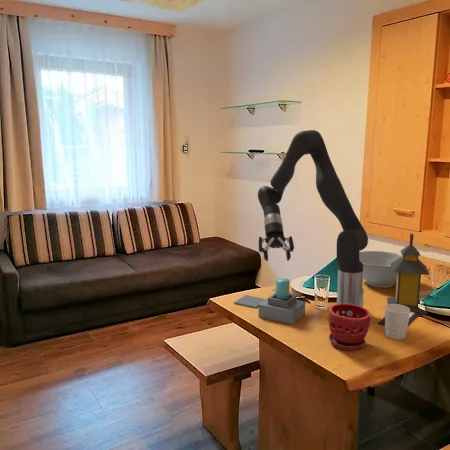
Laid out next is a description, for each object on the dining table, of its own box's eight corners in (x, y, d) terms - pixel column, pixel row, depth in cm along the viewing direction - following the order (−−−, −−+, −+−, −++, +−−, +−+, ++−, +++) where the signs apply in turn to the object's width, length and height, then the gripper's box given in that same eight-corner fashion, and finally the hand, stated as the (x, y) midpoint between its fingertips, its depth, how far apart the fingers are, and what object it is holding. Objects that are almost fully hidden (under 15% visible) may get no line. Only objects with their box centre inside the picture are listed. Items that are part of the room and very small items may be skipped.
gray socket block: (304, 313, 175) (305, 295, 174) (292, 324, 165) (292, 305, 164) (272, 306, 182) (272, 288, 181) (258, 316, 172) (258, 298, 171)
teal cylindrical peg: (291, 302, 174) (291, 279, 172) (285, 306, 169) (286, 283, 168) (278, 299, 176) (279, 277, 175) (273, 303, 172) (273, 281, 170)
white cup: (396, 342, 151) (398, 314, 149) (378, 333, 158) (380, 306, 156) (412, 337, 154) (415, 309, 152) (394, 328, 161) (396, 302, 159)
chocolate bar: (377, 322, 165) (394, 308, 179) (377, 325, 165) (394, 310, 179) (402, 329, 160) (418, 313, 173) (402, 331, 160) (418, 315, 174)
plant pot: (334, 354, 143) (335, 318, 141) (323, 336, 156) (324, 303, 153) (374, 353, 144) (377, 317, 141) (360, 335, 156) (362, 302, 154)
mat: (266, 300, 189) (266, 299, 189) (255, 308, 181) (255, 306, 181) (245, 296, 194) (245, 294, 194) (234, 303, 186) (234, 302, 186)
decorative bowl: (376, 271, 228) (378, 248, 226) (423, 286, 206) (425, 260, 203) (337, 280, 215) (339, 255, 212) (383, 297, 192) (385, 270, 190)
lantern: (388, 311, 177) (393, 236, 171) (387, 298, 191) (391, 229, 185) (427, 315, 173) (434, 238, 167) (423, 302, 186) (429, 231, 181)
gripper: (257, 221, 186) (261, 255, 178) (291, 221, 187) (296, 255, 178) (255, 231, 193) (259, 265, 184) (289, 230, 193) (293, 264, 184)
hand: (277, 260), depth 181 cm, fingers open, 8 cm apart
